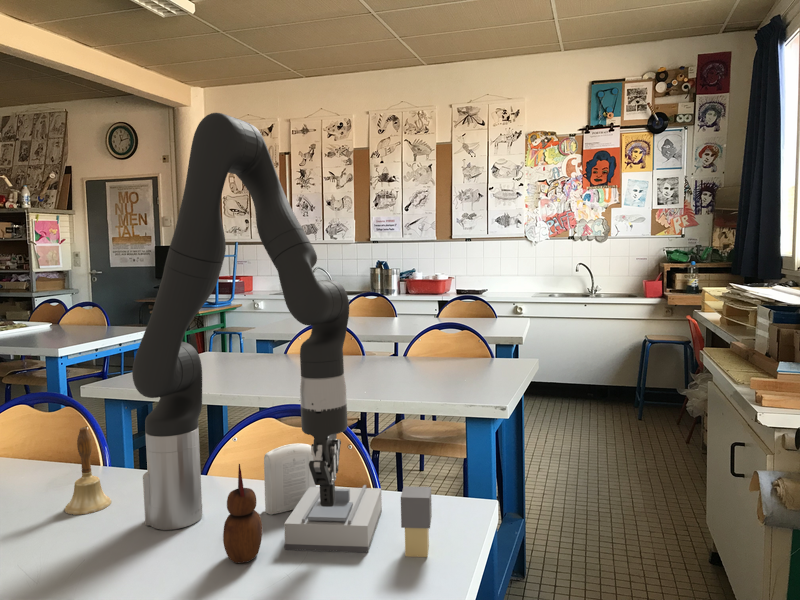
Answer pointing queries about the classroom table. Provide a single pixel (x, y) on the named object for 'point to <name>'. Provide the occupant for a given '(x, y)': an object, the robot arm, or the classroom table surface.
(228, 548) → the wooden figurine
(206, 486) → the classroom table surface
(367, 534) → the socket
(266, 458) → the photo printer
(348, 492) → the shutter
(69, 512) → the hand bell
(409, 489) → the plug
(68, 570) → the classroom table surface
